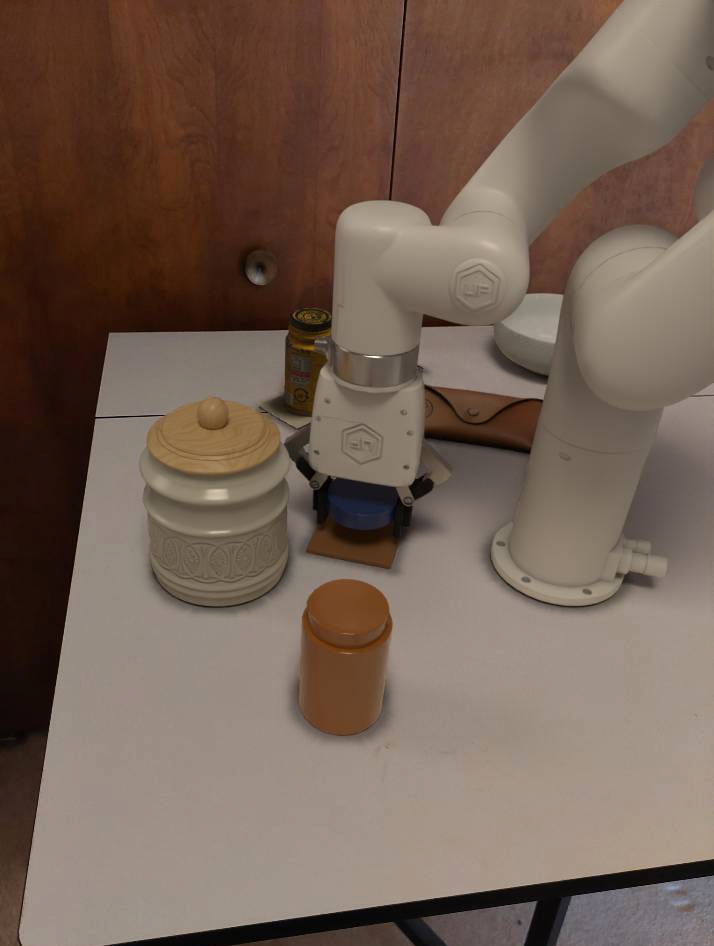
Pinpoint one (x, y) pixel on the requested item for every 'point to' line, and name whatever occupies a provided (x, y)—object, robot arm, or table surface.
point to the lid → (361, 504)
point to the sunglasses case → (481, 418)
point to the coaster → (354, 543)
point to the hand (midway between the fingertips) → (361, 522)
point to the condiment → (301, 366)
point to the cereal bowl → (531, 332)
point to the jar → (216, 502)
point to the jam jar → (344, 656)
